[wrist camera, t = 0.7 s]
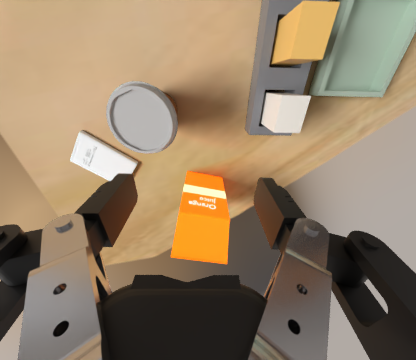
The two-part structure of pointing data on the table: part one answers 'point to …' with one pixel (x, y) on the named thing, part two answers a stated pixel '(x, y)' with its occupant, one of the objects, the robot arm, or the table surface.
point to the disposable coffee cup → (142, 117)
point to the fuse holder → (266, 76)
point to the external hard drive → (100, 157)
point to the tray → (364, 47)
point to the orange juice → (202, 220)
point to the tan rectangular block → (303, 33)
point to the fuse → (284, 111)
